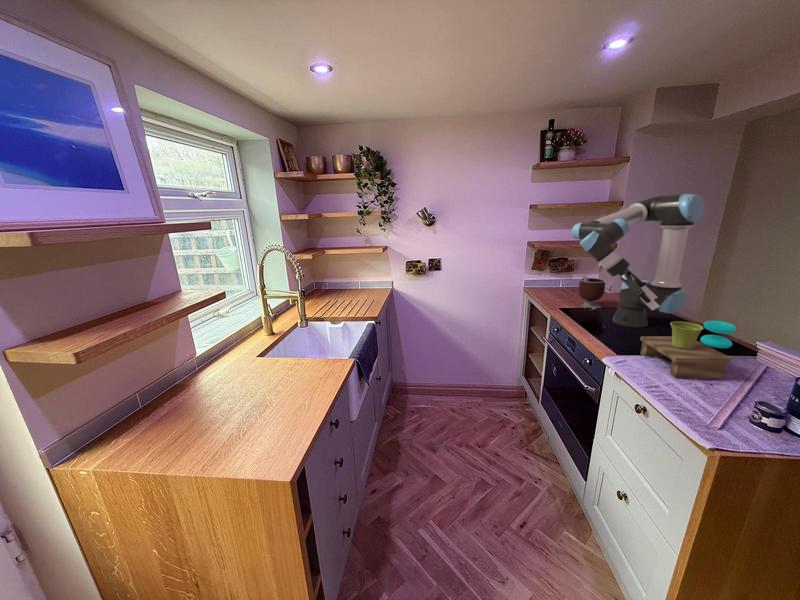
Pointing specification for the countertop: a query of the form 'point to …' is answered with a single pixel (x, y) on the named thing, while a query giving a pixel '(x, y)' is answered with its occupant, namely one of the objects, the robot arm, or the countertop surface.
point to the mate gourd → (591, 290)
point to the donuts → (715, 339)
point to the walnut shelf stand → (687, 358)
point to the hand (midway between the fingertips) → (655, 303)
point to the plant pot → (685, 334)
